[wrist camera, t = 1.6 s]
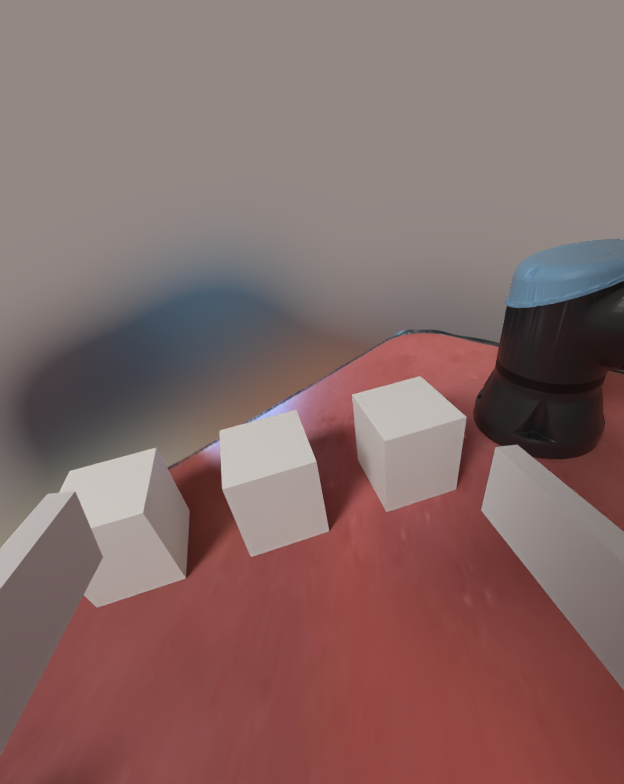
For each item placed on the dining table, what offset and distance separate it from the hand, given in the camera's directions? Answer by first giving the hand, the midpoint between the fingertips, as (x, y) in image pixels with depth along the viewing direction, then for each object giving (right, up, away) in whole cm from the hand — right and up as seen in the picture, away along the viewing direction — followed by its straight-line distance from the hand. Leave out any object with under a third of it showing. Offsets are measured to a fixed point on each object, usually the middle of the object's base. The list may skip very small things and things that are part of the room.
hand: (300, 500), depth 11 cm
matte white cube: (+12, -7, +32) cm, 35 cm away
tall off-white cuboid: (-3, -11, +30) cm, 32 cm away
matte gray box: (-18, -15, +28) cm, 37 cm away
